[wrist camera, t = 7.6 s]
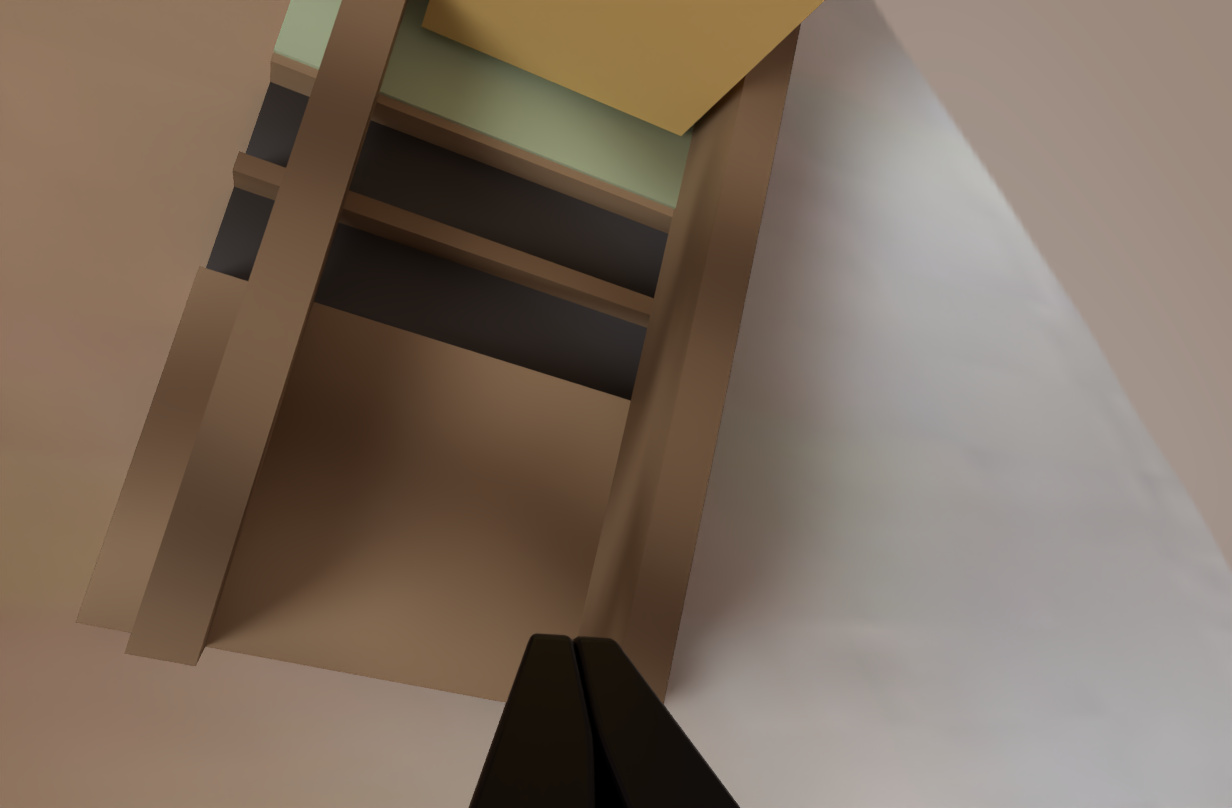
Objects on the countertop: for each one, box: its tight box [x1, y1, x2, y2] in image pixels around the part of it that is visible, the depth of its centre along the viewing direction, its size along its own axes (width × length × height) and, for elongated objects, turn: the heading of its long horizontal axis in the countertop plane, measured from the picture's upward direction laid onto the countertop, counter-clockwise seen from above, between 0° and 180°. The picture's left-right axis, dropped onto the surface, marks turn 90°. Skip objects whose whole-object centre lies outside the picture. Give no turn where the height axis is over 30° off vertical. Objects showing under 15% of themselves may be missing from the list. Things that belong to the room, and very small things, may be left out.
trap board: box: [76, 0, 801, 704], centre depth 18 cm, size 17×11×4 cm, turn 166°
